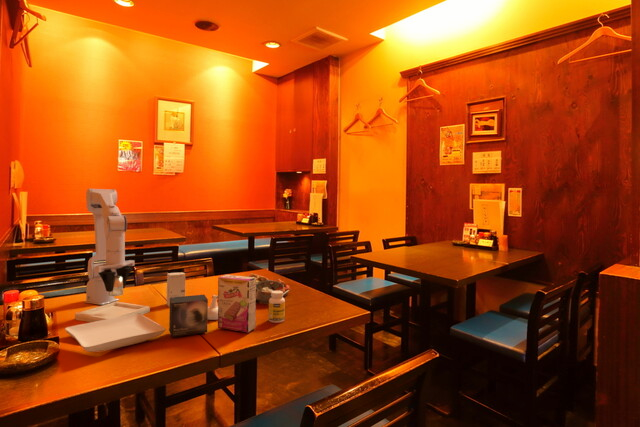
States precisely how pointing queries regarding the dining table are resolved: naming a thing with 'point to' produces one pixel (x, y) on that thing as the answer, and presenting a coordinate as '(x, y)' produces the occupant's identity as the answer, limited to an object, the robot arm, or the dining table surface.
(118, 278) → the cylinder
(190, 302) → the small box
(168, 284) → the skincare box
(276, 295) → the supplement bottle
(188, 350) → the dining table surface
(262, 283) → the food tray
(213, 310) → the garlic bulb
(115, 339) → the salad plate
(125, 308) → the tray
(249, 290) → the candy bar box
